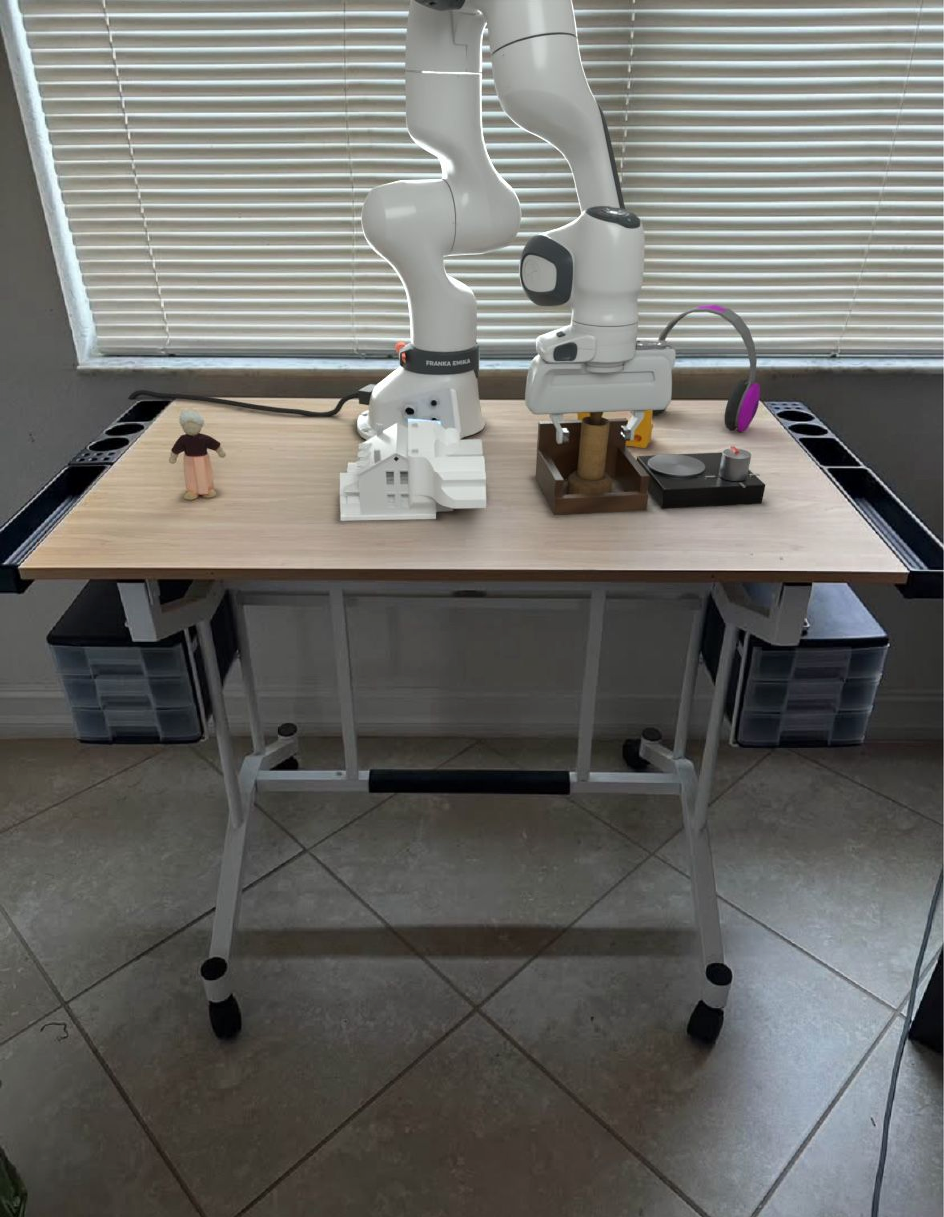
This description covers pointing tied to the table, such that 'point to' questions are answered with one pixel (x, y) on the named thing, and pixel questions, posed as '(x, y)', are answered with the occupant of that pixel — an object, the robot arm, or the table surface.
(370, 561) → the table surface
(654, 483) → the hob
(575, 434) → the spice rack
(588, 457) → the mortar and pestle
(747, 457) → the hob knob
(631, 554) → the table surface
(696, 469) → the burner
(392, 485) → the house model
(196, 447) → the grandmother figurine
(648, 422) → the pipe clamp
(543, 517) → the table surface
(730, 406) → the headphones
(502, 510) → the table surface
